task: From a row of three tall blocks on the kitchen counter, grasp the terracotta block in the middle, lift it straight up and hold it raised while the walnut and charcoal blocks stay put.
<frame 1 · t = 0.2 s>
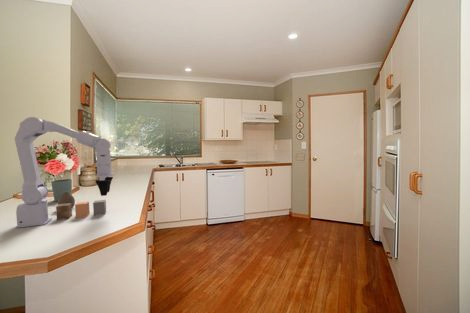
hand: (105, 193, 106), 10 cm above the worktop, tool pointing down, fingers open, 7 cm apart
terracotta block: (82, 215, 106), on the worktop
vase: (67, 209, 118), on the worktop
charcoal block: (100, 213, 108), on the worktop
walnut block: (64, 217, 103), on the worktop
teal plant pot: (62, 200, 139), on the worktop
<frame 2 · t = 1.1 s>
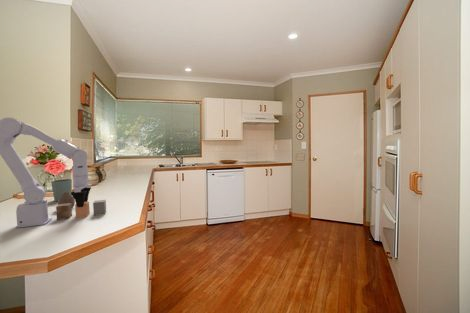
hand: (82, 204, 106), 5 cm above the worktop, tool pointing down, fingers open, 7 cm apart
nothing on the worktop moved.
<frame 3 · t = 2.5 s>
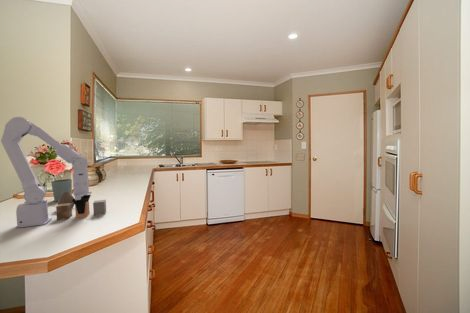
hand: (82, 212, 106), 2 cm above the worktop, tool pointing down, fingers closed on terracotta block, 4 cm apart
terracotta block: (82, 215, 106), on the worktop, touching gripper
everything else where it was.
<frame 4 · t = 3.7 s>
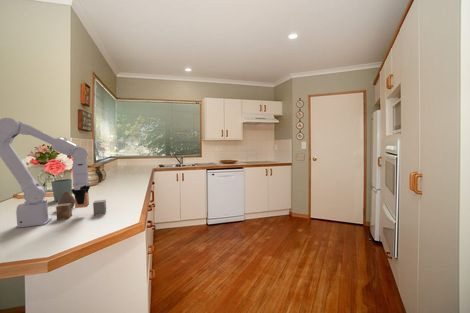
hand: (82, 202, 106), 6 cm above the worktop, tool pointing down, fingers closed on terracotta block, 4 cm apart
terracotta block: (82, 206, 106), point 4 cm above the worktop, touching gripper
everything else where it was.
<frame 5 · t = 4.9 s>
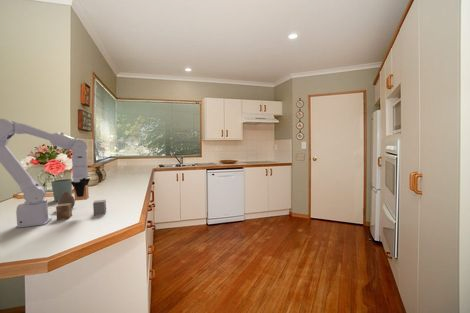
hand: (81, 195, 105), 9 cm above the worktop, tool pointing down, fingers closed on terracotta block, 4 cm apart
terracotta block: (82, 199, 105), point 8 cm above the worktop, touching gripper
everything else where it was.
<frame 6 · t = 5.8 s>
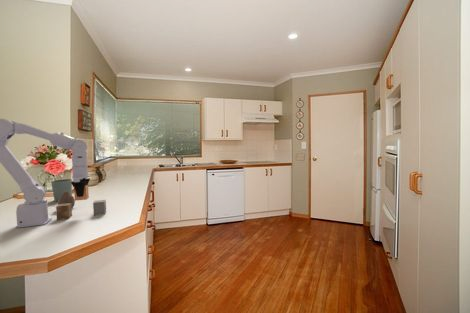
hand: (81, 195, 105), 9 cm above the worktop, tool pointing down, fingers closed on terracotta block, 4 cm apart
terracotta block: (82, 199, 105), point 8 cm above the worktop, touching gripper
everything else where it was.
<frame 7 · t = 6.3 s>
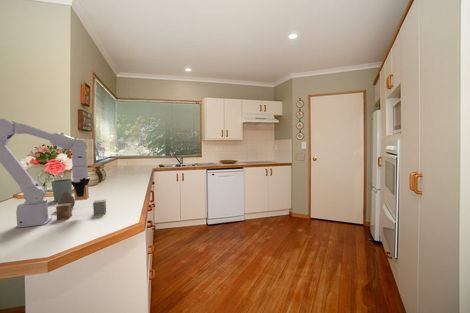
hand: (81, 195, 105), 9 cm above the worktop, tool pointing down, fingers closed on terracotta block, 4 cm apart
terracotta block: (82, 199, 105), point 8 cm above the worktop, touching gripper
everything else where it was.
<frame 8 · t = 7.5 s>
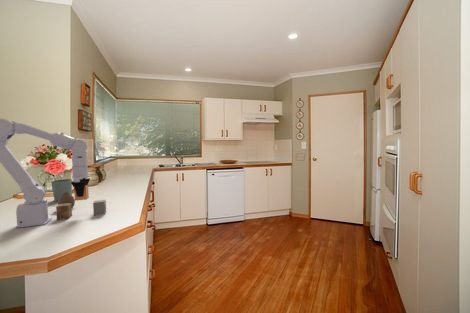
hand: (81, 195, 105), 9 cm above the worktop, tool pointing down, fingers closed on terracotta block, 4 cm apart
terracotta block: (82, 199, 105), point 8 cm above the worktop, touching gripper
everything else where it was.
at the end: the gripper is holding terracotta block; terracotta block point 7.8 cm above the worktop; charcoal block moved 0.1 cm from its start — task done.
